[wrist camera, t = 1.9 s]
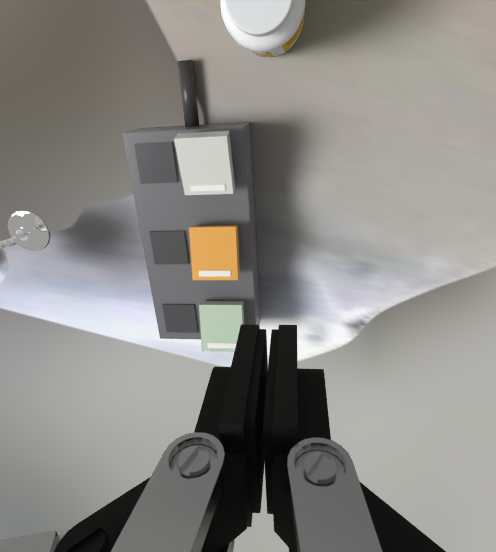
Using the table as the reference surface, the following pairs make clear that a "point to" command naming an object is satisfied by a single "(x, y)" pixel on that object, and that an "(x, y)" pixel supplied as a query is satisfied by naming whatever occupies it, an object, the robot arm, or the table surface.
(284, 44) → the supplement bottle
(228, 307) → the green rocker
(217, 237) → the orange white-striped slab
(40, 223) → the wineglass
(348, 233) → the table surface
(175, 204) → the power strip
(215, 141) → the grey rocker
